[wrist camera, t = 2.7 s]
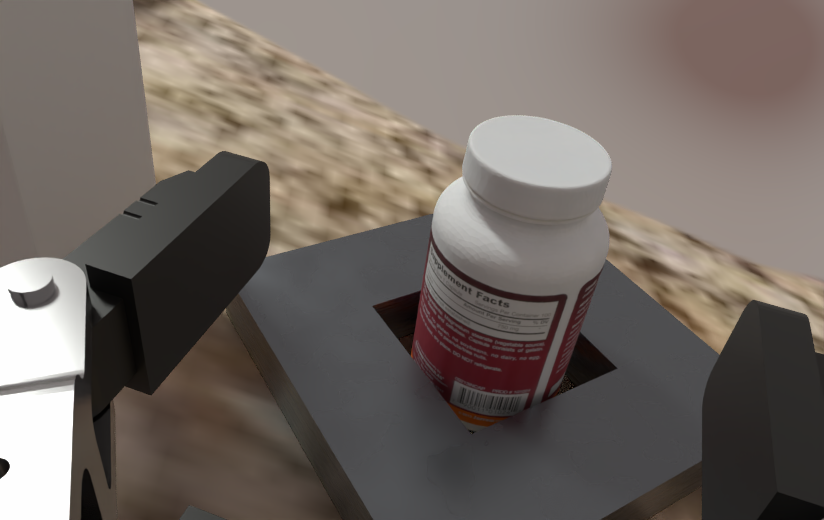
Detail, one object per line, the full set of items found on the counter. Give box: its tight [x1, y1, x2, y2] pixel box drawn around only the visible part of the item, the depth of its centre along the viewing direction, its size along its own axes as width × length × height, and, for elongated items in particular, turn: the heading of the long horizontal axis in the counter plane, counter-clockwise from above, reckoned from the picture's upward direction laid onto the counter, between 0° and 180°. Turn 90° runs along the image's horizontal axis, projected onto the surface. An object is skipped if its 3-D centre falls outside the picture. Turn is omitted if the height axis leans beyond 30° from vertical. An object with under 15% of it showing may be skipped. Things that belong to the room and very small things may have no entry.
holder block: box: [226, 214, 720, 520], centre depth 29 cm, size 16×16×2 cm
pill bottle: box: [411, 115, 612, 432], centre depth 26 cm, size 6×6×11 cm
